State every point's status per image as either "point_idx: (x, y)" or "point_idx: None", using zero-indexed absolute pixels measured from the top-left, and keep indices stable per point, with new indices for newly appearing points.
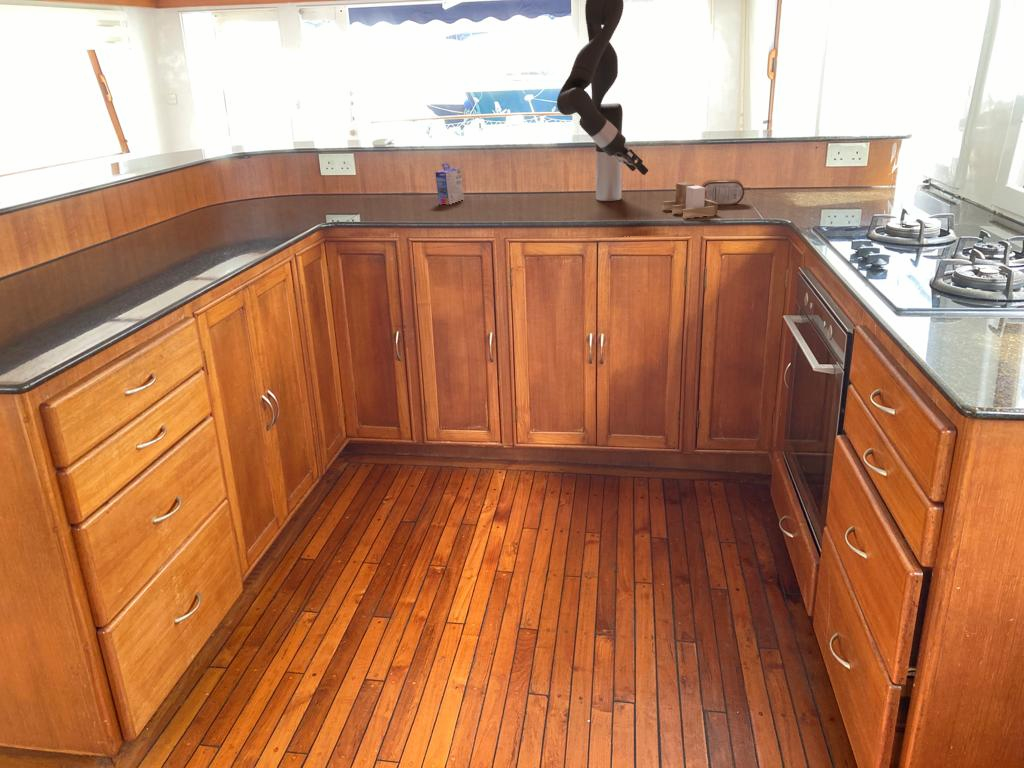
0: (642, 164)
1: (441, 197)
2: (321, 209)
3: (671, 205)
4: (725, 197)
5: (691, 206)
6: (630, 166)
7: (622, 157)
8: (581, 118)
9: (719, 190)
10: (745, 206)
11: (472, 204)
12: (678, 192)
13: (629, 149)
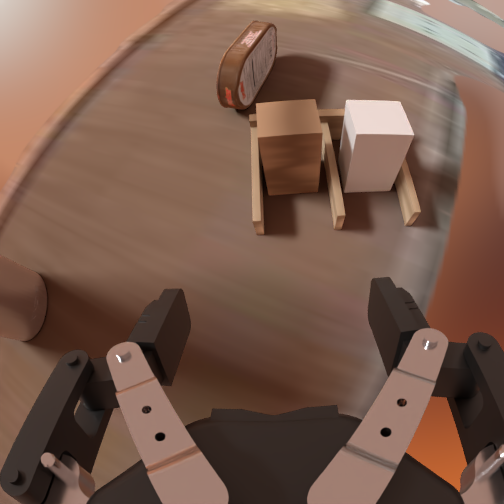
0: (410, 320)
1: None
2: None
3: (261, 197)
4: (263, 66)
5: (387, 174)
6: (179, 344)
7: None
8: None
9: (256, 61)
10: (299, 60)
11: None
12: (284, 156)
13: (387, 481)
